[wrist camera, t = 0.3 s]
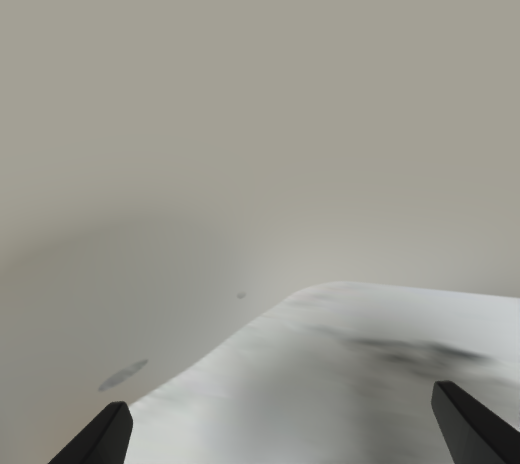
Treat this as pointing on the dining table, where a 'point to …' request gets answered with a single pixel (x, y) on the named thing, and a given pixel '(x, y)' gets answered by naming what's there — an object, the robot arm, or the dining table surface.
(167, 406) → the dining table surface
